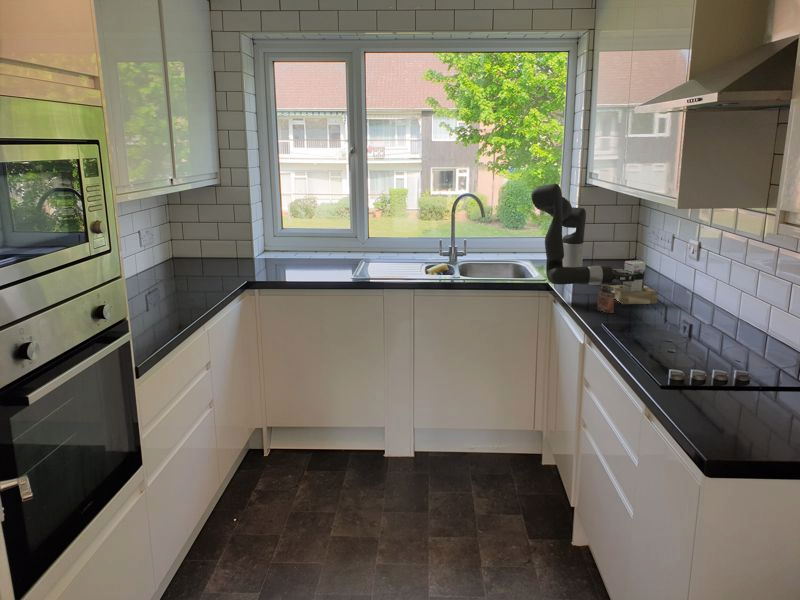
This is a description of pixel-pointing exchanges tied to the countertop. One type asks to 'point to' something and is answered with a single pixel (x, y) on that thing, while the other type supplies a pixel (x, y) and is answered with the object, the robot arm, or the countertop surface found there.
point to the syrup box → (634, 268)
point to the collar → (635, 295)
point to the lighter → (606, 299)
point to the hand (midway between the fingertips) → (639, 274)
